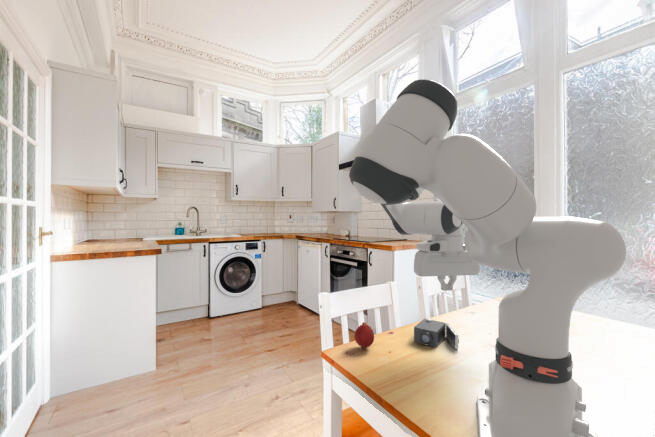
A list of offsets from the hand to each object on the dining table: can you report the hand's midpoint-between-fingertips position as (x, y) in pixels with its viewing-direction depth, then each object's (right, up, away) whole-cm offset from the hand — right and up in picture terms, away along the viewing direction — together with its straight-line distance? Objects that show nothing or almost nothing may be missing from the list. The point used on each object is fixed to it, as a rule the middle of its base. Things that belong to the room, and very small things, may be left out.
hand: (446, 290), depth 89 cm
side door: (+3, -17, +2) cm, 17 cm away
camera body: (-3, -17, +5) cm, 18 cm away
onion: (-25, -17, -2) cm, 31 cm away
